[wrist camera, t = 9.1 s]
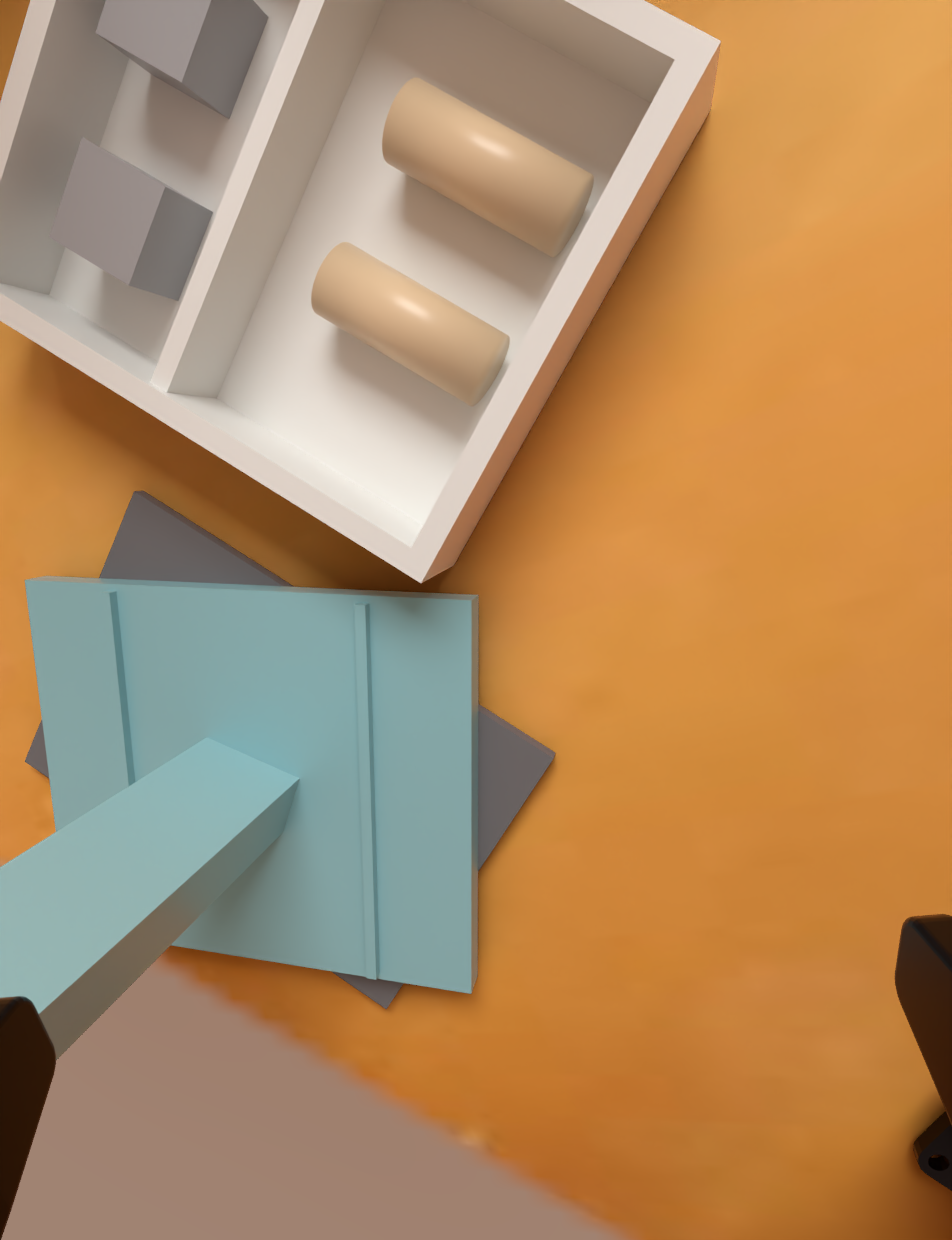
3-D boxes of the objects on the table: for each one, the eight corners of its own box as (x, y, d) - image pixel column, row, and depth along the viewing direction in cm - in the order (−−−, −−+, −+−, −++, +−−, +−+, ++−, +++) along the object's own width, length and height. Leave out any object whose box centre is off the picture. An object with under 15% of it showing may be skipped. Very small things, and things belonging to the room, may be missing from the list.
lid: (478, 594, 20) (291, 741, 10) (477, 975, 23) (327, 1409, 12) (45, 575, 23) (-442, 673, 13) (85, 914, 26) (-299, 1223, 15)
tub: (710, 109, 17) (720, 41, 14) (454, 565, 21) (421, 583, 18) (198, -167, 18) (113, -282, 15) (38, 308, 22) (-55, 286, 19)
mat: (555, 753, 21) (553, 758, 21) (390, 1000, 24) (386, 1009, 24) (143, 490, 22) (134, 491, 22) (34, 756, 25) (24, 761, 25)
